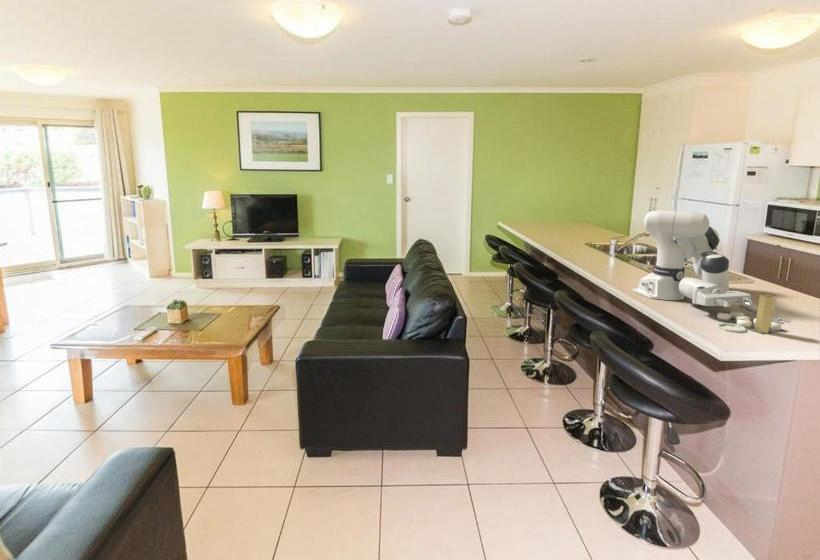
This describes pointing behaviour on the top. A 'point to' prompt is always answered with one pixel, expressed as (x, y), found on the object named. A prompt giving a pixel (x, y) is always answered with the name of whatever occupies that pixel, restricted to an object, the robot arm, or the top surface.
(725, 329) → the dish
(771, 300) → the coupling nut
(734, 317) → the mat
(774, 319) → the adjustable wrench
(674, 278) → the robot arm
